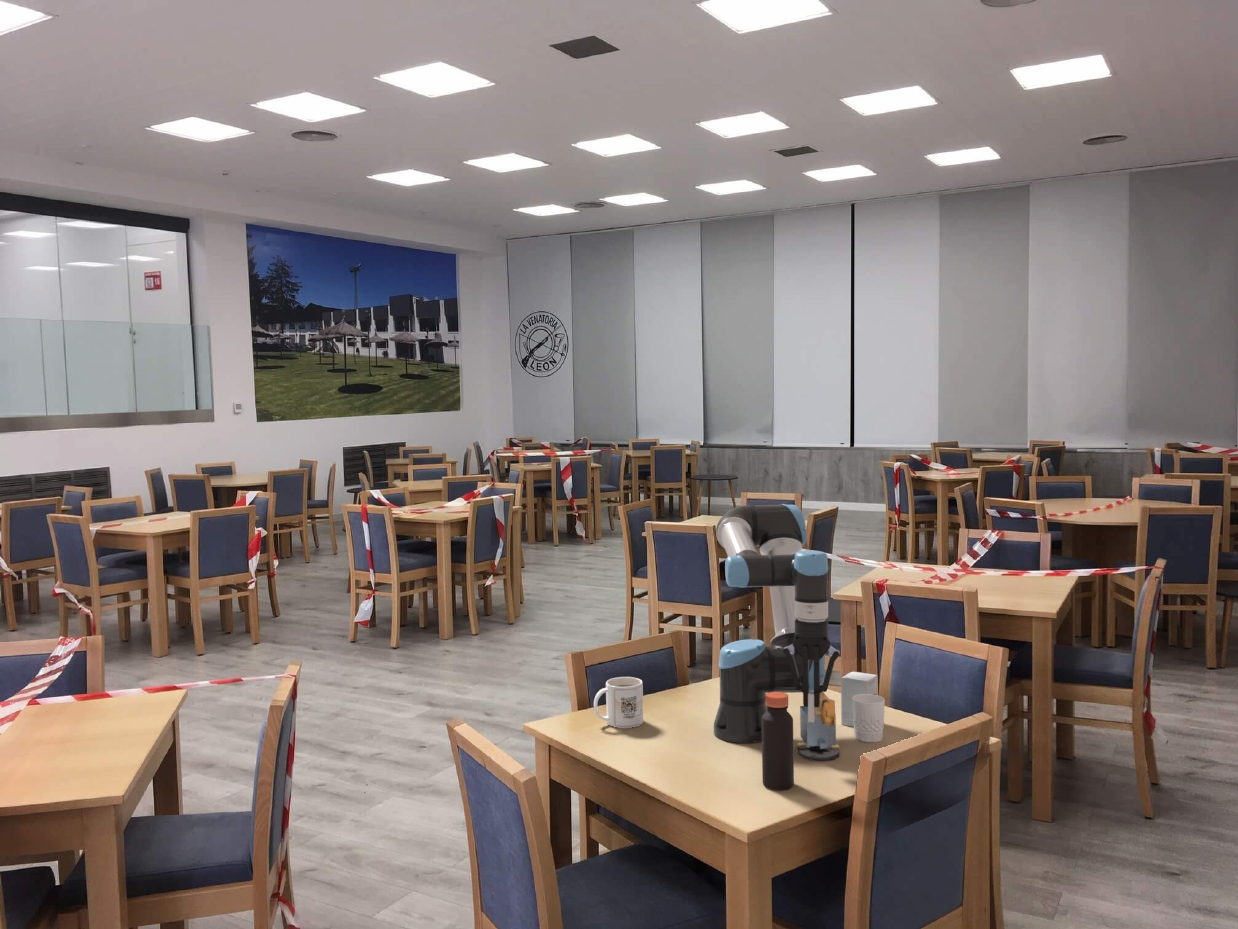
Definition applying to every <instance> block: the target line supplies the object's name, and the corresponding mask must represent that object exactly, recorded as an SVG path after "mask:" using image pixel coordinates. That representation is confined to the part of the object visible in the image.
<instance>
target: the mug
mask: <svg viewBox="0 0 1238 929" xmlns="http://www.w3.org/2000/svg"><path fill="white" fill-rule="evenodd" d="M643 685H644V684H643V680H642V679H640V678H637V677H632V676H619V677H617V676H616V677H614V678H609V679H608V680H607V681H606V682H605V687H604V688H601V689H599V691H598V692H597V693H596V694H595V697H594V699H593V711H594V712H595V714H596V715H597V717H598V718H599V719H601V720H603V721H606V724H607V723H608V724H607V725H608V726H609V725H611V726H614V727H613V728H615V727H618V728H617V729H632V727H634V728H637V727H640V726H641V725H643V724H644V689H643V687H644V686H643ZM603 694H605V701H606V702H605V704H606V705H605V706H606V707H605V709H606V715H602V714H601V713H600V712H599V710H598V703H599V699H600V698H601V696H602V695H603ZM611 726H610V727H611ZM636 726H637V727H636Z"/></svg>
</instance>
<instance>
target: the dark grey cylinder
mask: <svg viewBox="0 0 1238 929" xmlns="http://www.w3.org/2000/svg"><path fill="white" fill-rule="evenodd" d="M840 749H841V748H840V745H839V744H837V743H836V745H831V746H827V748H825V749H820V748H819V746H807V745H806V744H805V742H804V741H803V740H802V741H800V742H797V744H796V754H797V755H798V757H800V758H803V759H804V760H810V761H815V762H816V761H819V762H826V761H827V762H828V761H834V760H835V759H838V758H839V757H840V752H841V750H840Z"/></svg>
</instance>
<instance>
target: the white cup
mask: <svg viewBox="0 0 1238 929" xmlns="http://www.w3.org/2000/svg"><path fill="white" fill-rule="evenodd" d="M885 700H886V699H885V698H884V697H883V696H881V695H873V694H858V695H855V696H853V697H852V707H853V722H854V728H853V729H854V738H855V739H856V740H858V741H860V742H864V743H877V742H880V741H882V740H883V737H884V727H885V726H884V724H885V705H886V704H885V703H886V701H885Z"/></svg>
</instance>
